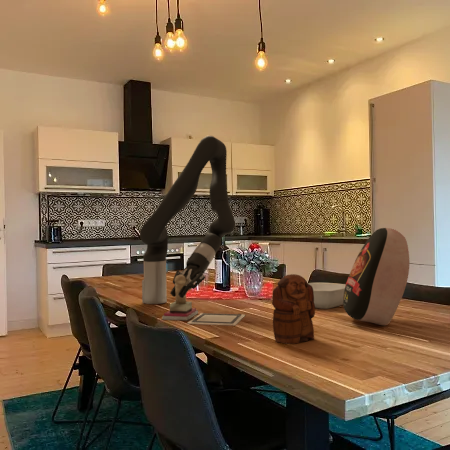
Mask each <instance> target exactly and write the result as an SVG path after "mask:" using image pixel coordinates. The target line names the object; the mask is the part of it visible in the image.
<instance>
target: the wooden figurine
mask: <svg viewBox="0 0 450 450" xmlns="http://www.w3.org/2000/svg"><path fill="white" fill-rule="evenodd" d="M308 283H309V282H308V281H307V280H306V279H305V277H303V276H301V275H299V274H296V273H295V274H293V273H291V274H286V275H284V276H283V277H282V278H281V279H280V280H279V281H278V282H277V286H275V287H274V289H273V290H272V301H271V303H272V306H273V308H274V310H273V314H272V316H273V317H272V328H273V331H272V332H273V337H274V340H275V342H276V343H280V344H281V343H282V344H287V345H288V344H290V345H291V344H293V345H294V344H296V345H297V344H299V343H304V342H309V340H315V333H314V332H315V329H314V324H313V319H314V317H315V314H316V308H315V304H314V292H313V288H312V286H311V285H309V284H308Z"/></svg>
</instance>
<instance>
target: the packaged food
mask: <svg viewBox="0 0 450 450" xmlns="http://www.w3.org/2000/svg"><path fill="white" fill-rule="evenodd" d="M409 273H410V252H409V245H408V240H407V238H406V237H405V236H404V235H403V234H402V233H401V232H399V231H398V230H396V229H394V228H390V227H382V228H378V229H376V230H375V231H374V232H373V233H371V235H370V236H369V237H368V238H367V240H366V241H365V243H364V244H363V246H362V247H361V249H360V251H359V252H358V255H357V257H356V258H355V261H354V263H353V265H352V268H351V270H350V273H349V274H348V277H347V280H346V282H345V284H346V286H345V290H344V296H343V305H342V306H343V310H344V312H345V313H346V314H347V315H348V316H349V317H350V318H351V319H354V320H356V321H358V322H359V321H361V322H367V323H371V324H374V325H378V326H379V325H380V326H387V325H388V324H390V322H391V321H392V319H393V318H394V316H395V315H396V311H397V310H398V308H399V306H400V302H401V300H402V298H403V295H404V293H405V289H406V286H407V283H408V279H409Z"/></svg>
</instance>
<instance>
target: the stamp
mask: <svg viewBox="0 0 450 450" xmlns="http://www.w3.org/2000/svg"><path fill="white" fill-rule="evenodd" d="M185 282H186V278H185V276H183V275H177V276H176V277H175V285H174V286H175V294H176V296H175V301H174V302H172V303H170V304H169V311H170V312H182V313H187V312H188V311H190V310H192V308H193V307H192V305H193V302H192V301H187V294H186V295H185V296H184V297H183V298H181V297H180V296H179V295H178V293H179V292H180V290H181V289H182V287H183V286H185Z"/></svg>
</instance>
